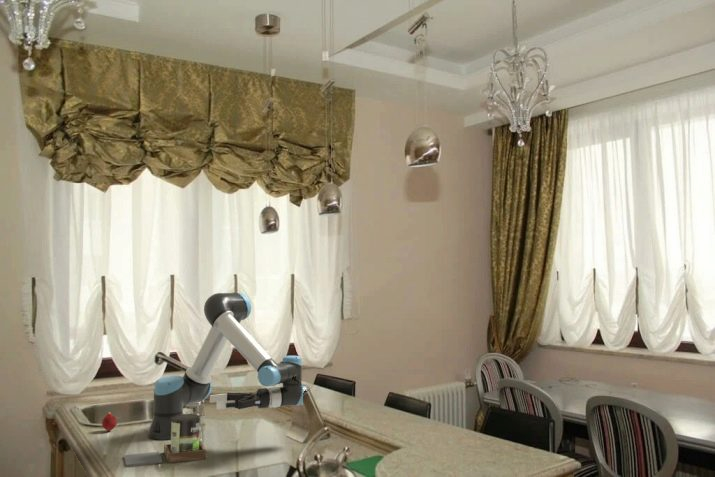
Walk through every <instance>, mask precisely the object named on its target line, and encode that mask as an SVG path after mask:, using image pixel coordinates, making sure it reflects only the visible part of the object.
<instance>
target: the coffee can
mask: <svg viewBox="0 0 715 477" xmlns="http://www.w3.org/2000/svg"><path fill="white" fill-rule="evenodd" d="M171 420H172V422H171V439H170V444H171V453H180V452H190V451H199V441H200V427H201V426H200V425H201V424H200V423H201V415H199V414H194V413H185V414H184V413H183V414H182V415H176V416H173V417H172V418H171Z"/></svg>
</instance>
